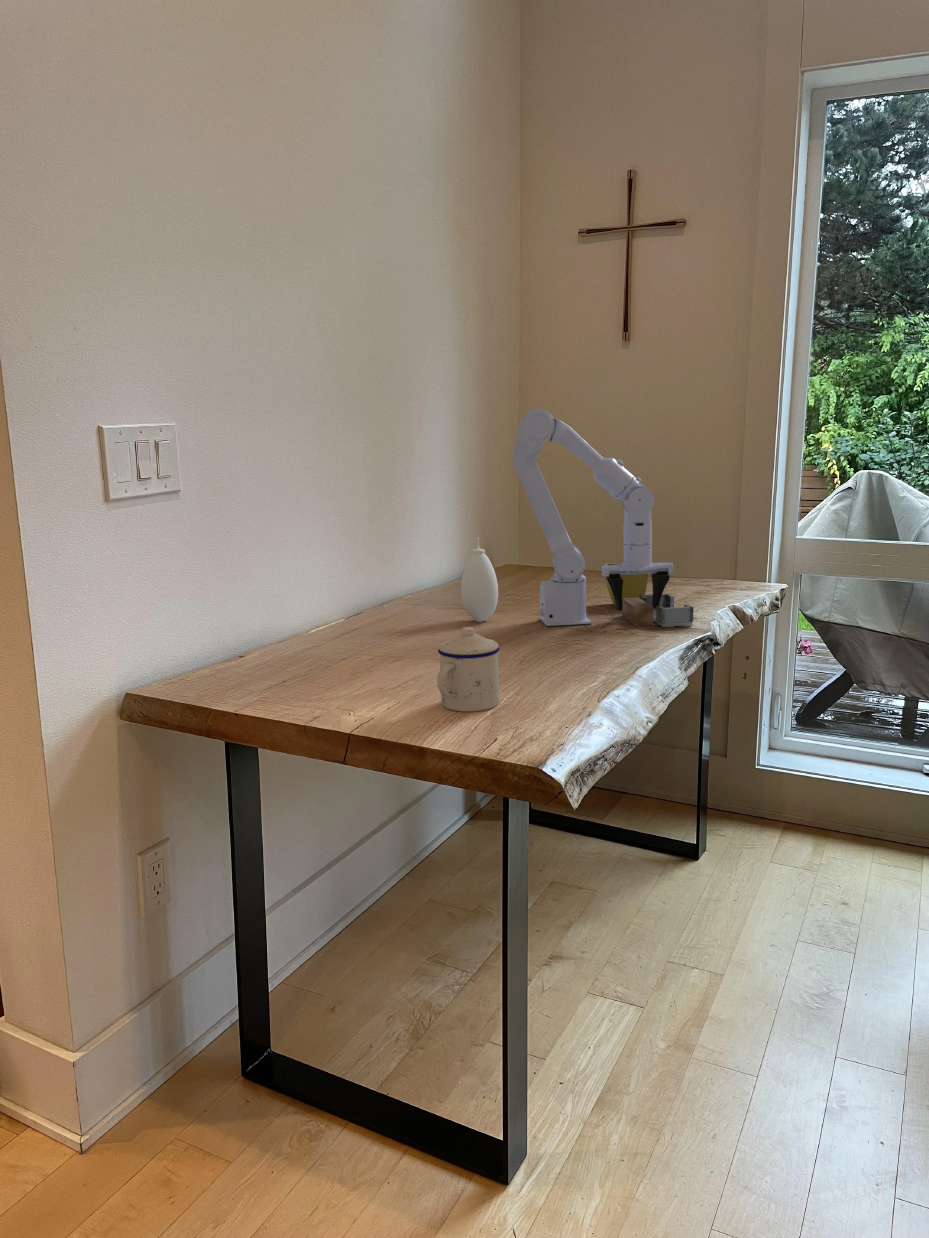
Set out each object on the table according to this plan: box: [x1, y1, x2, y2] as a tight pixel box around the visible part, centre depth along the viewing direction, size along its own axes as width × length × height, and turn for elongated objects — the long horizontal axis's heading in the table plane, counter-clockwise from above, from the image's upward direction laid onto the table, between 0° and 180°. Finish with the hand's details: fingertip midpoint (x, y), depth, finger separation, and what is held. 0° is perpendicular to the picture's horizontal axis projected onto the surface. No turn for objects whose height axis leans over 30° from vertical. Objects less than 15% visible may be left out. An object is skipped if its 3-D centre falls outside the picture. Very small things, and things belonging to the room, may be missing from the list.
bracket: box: [639, 593, 694, 628], centre depth 194 cm, size 7×16×4 cm, turn 5°
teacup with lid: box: [436, 626, 500, 713], centre depth 138 cm, size 12×9×12 cm
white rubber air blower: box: [460, 536, 499, 623], centre depth 196 cm, size 8×8×18 cm
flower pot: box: [604, 562, 649, 607], centre depth 209 cm, size 9×9×9 cm
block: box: [621, 598, 654, 627], centre depth 194 cm, size 4×11×4 cm, turn 6°
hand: (637, 608), depth 194 cm, fingers open, 7 cm apart
